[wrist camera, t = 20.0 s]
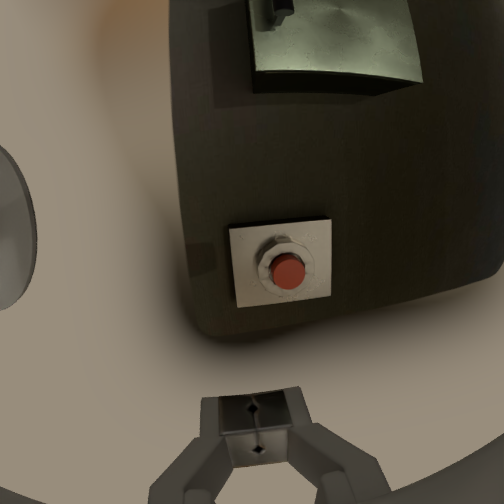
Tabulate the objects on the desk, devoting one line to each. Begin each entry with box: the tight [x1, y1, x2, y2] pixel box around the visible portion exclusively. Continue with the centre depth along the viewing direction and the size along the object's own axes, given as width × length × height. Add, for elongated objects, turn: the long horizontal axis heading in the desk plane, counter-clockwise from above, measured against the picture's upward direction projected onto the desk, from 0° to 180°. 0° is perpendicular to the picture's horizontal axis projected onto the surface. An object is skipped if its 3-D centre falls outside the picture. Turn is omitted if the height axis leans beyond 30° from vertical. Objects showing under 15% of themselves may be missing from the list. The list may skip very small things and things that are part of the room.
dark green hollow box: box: [245, 0, 417, 96], centre depth 26 cm, size 16×14×10 cm
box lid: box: [248, 0, 423, 84], centre depth 19 cm, size 16×14×5 cm
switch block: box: [228, 216, 332, 308], centre depth 37 cm, size 12×10×4 cm
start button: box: [271, 254, 305, 290], centre depth 34 cm, size 4×4×2 cm
